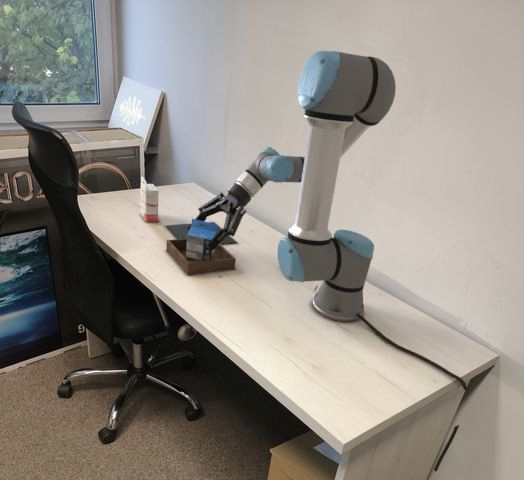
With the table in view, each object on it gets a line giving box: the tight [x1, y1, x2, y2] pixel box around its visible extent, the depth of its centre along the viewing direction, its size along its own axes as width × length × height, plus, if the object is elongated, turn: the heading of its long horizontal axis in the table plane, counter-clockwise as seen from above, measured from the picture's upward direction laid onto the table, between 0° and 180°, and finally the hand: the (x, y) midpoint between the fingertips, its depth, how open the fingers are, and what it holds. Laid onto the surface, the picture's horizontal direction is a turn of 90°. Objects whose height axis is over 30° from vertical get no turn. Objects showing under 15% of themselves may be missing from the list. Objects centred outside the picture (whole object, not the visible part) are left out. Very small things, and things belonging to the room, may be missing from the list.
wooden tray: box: [165, 238, 237, 276], centre depth 158 cm, size 19×17×4 cm
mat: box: [165, 221, 238, 246], centre depth 177 cm, size 20×20×1 cm
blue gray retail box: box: [186, 218, 218, 261], centre depth 156 cm, size 9×4×12 cm, turn 76°
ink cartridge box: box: [140, 176, 159, 223], centre depth 180 cm, size 9×5×15 cm, turn 25°
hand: (199, 239), depth 155 cm, fingers open, 13 cm apart
